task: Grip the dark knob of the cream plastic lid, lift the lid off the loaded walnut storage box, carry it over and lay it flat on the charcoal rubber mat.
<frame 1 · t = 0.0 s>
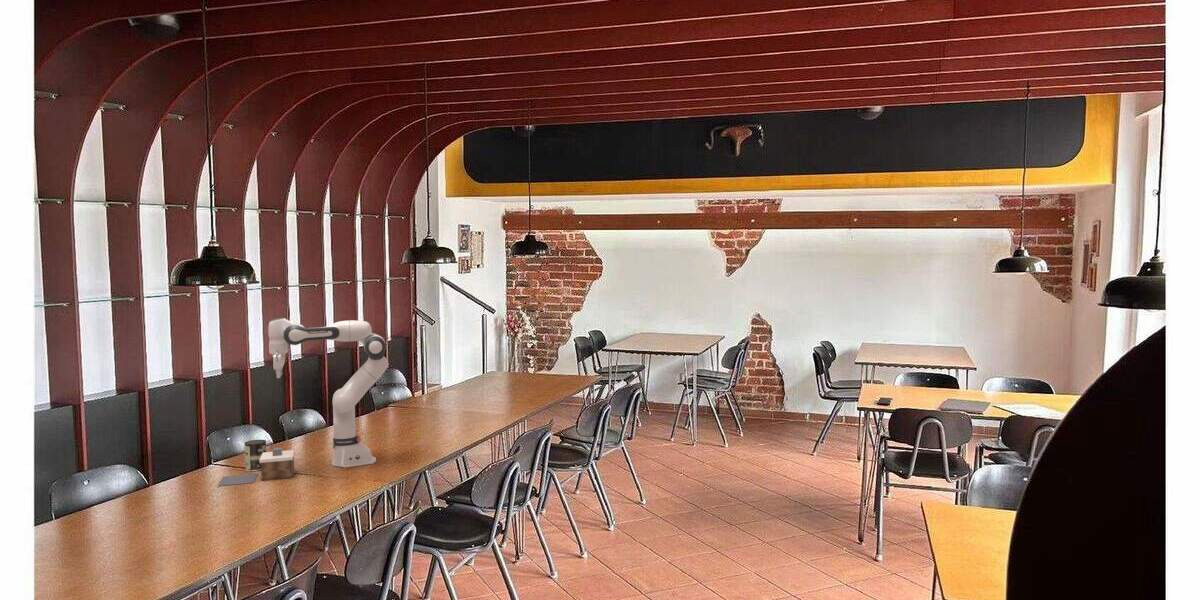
hand: (279, 376, 395), 48 cm above the table, fingers open, 8 cm apart
mat: (238, 480, 378), on the table
storage box: (278, 475, 385), on the table
coffee can: (256, 469, 399), on the table
lid: (277, 457, 385), point 9 cm above the table, touching storage box
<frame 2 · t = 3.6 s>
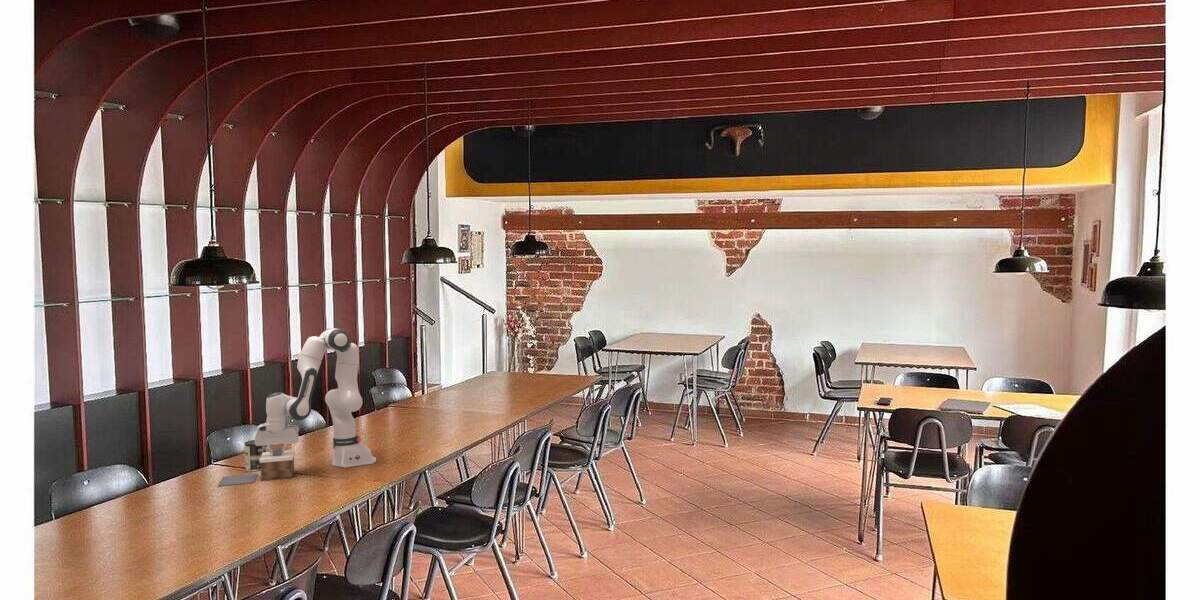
hand: (277, 452, 385), 11 cm above the table, fingers closed on lid, 4 cm apart
lid: (277, 457, 385), point 9 cm above the table, touching gripper, storage box
everything else where it was.
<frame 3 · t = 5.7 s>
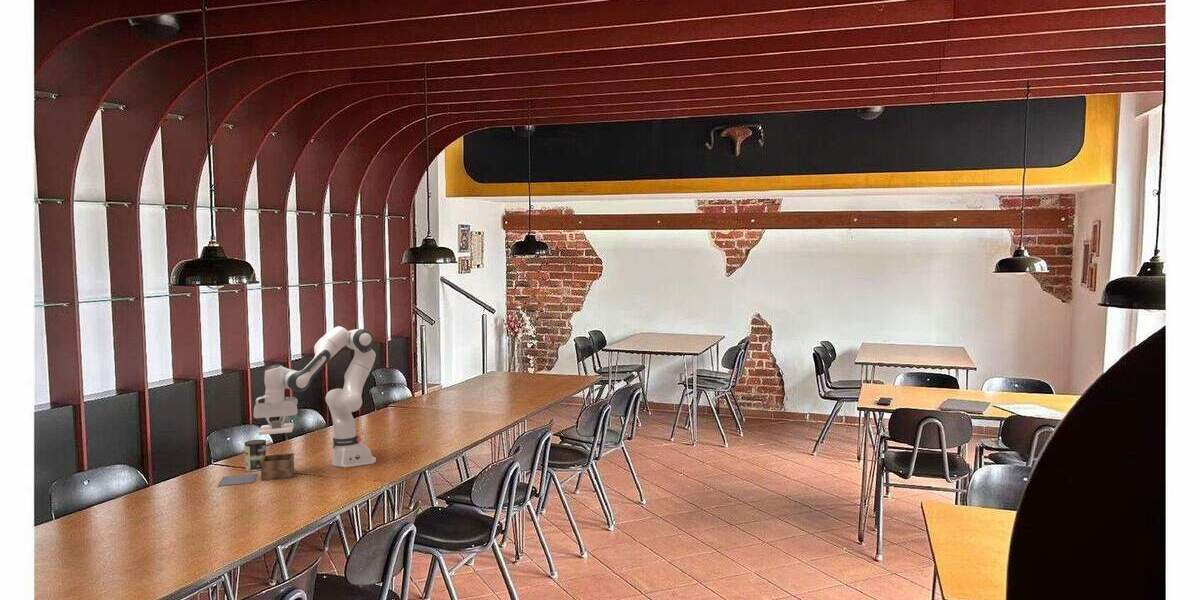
hand: (276, 425, 384), 25 cm above the table, fingers closed on lid, 4 cm apart
lid: (276, 430, 384), point 23 cm above the table, touching gripper
everything else where it was.
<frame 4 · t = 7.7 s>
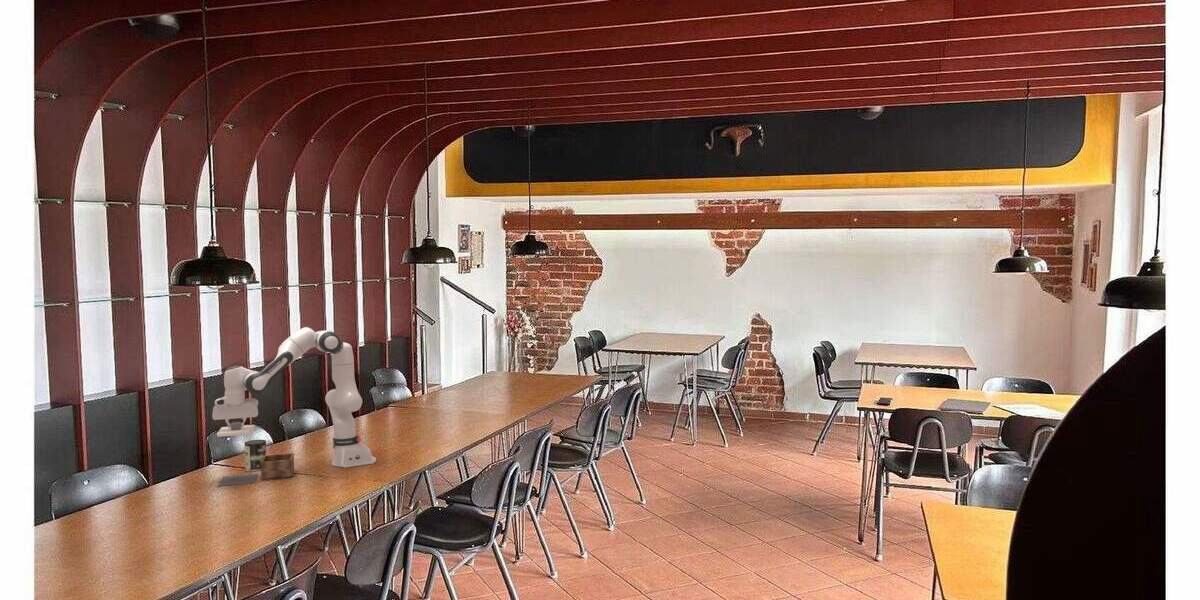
hand: (236, 427, 377), 26 cm above the table, fingers closed on lid, 4 cm apart
lid: (236, 432, 377), point 24 cm above the table, touching gripper
everything else where it was.
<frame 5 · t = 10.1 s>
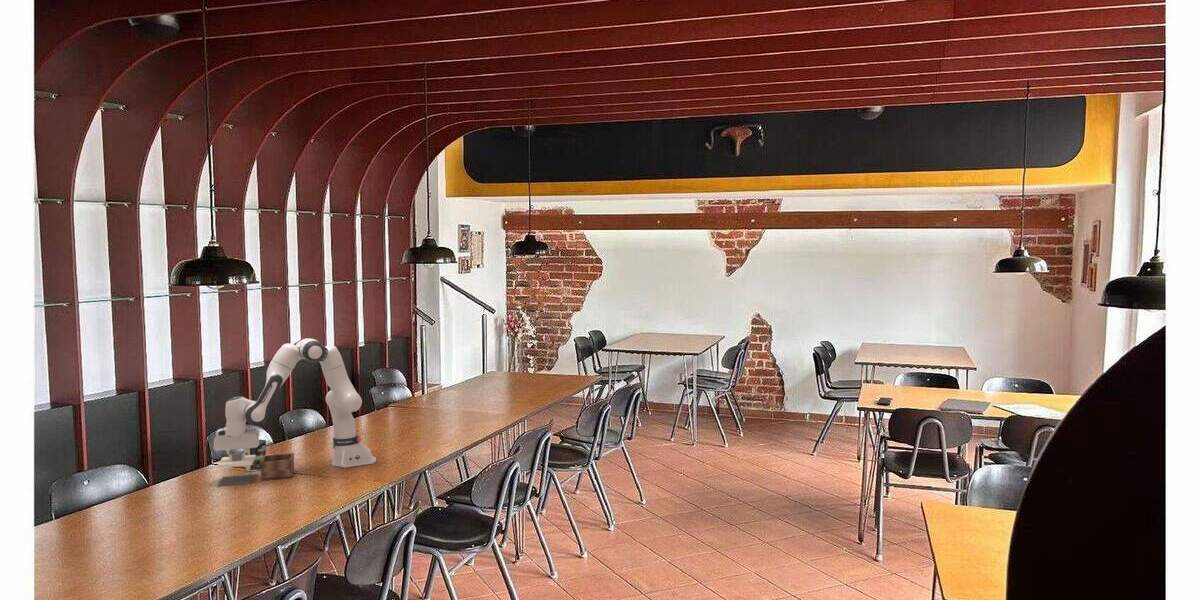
hand: (237, 457, 377), 11 cm above the table, fingers closed on lid, 4 cm apart
lid: (237, 462, 377), point 9 cm above the table, touching gripper
everything else where it was.
when the fingers open (5 cm above the table, at t = 12.3 s): lid drops 2 cm, resting on mat.
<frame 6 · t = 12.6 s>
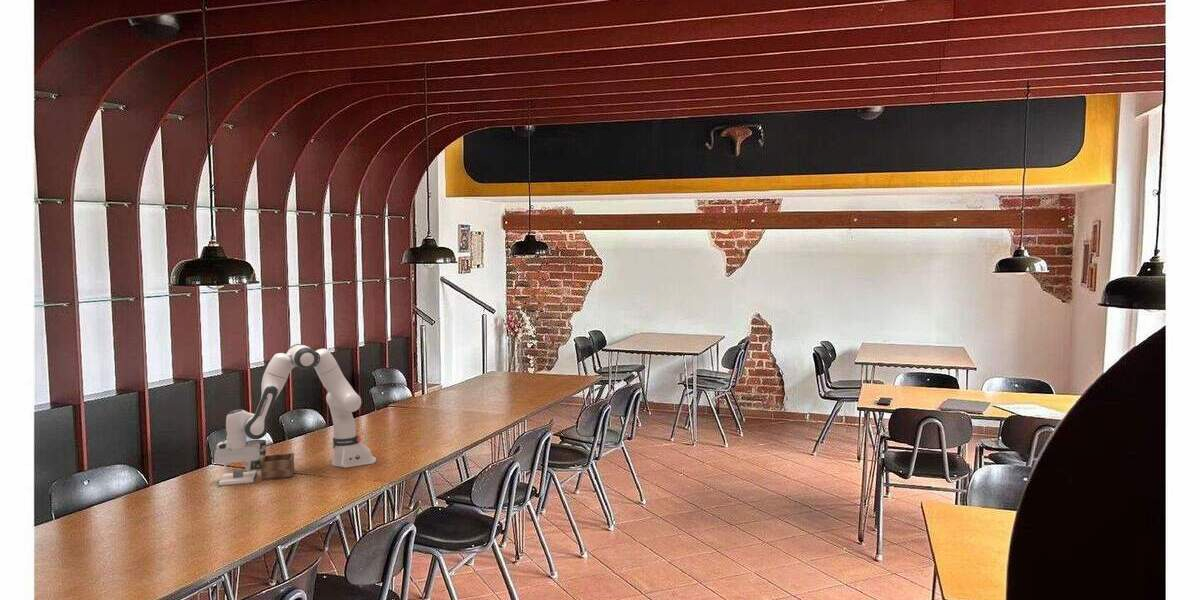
hand: (237, 470, 378), 5 cm above the table, fingers open, 7 cm apart
lid: (238, 479, 378), resting on mat
everything else where it was.
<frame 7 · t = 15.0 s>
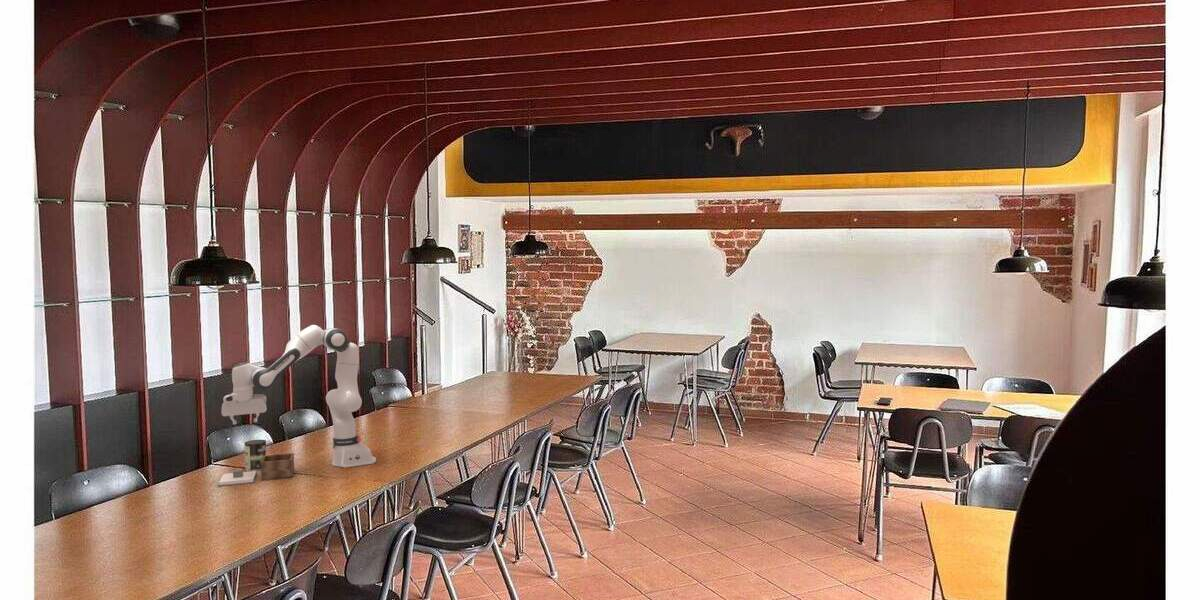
hand: (245, 423, 382), 27 cm above the table, fingers open, 8 cm apart
nothing on the table moved.
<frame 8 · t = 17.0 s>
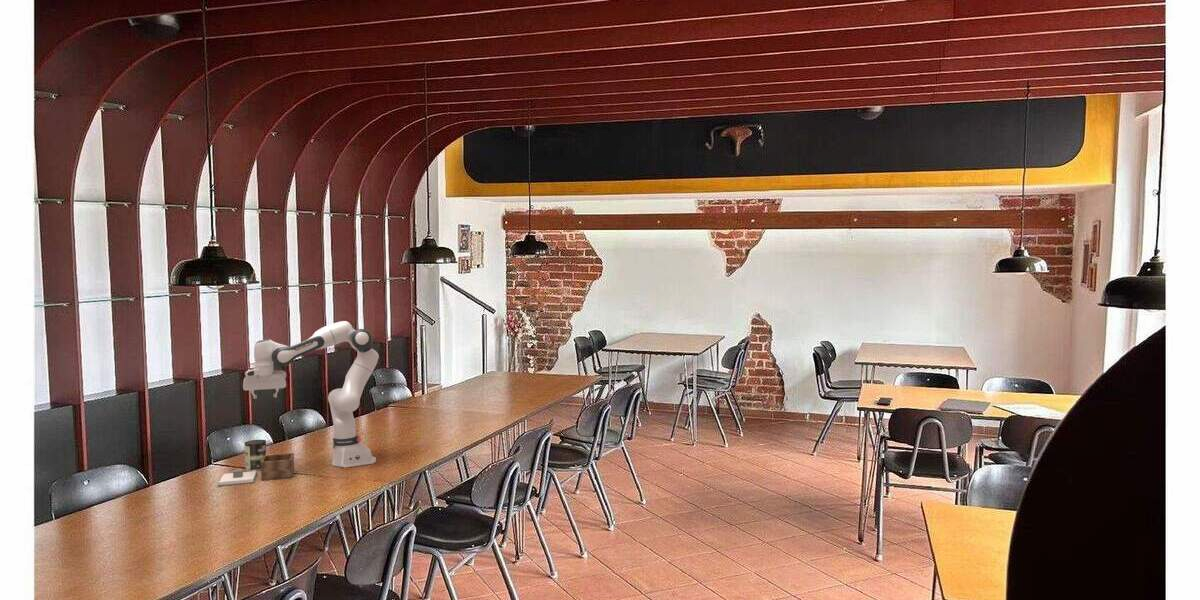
hand: (265, 398, 395), 37 cm above the table, fingers open, 8 cm apart
nothing on the table moved.
at the end: lid inside the target area on the mat (0.1 cm from its centre), point 0.4 cm above the mat's base; lid tilted 0°; the gripper is holding nothing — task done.
